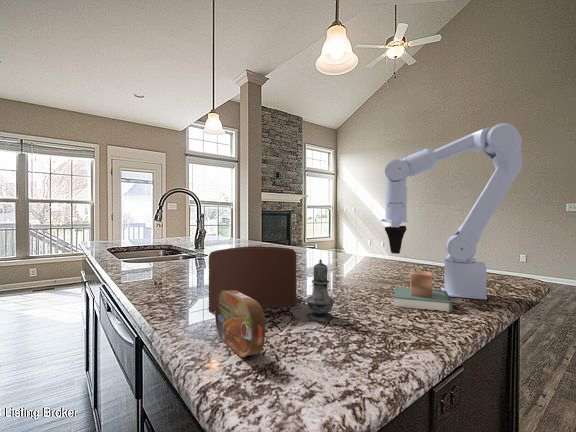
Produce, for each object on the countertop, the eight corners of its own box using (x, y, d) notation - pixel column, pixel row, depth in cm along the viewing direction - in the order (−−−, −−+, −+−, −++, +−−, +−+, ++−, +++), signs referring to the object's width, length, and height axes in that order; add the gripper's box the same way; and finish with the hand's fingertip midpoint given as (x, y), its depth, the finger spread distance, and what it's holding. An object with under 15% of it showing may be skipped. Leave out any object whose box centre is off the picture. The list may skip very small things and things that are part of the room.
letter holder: (297, 306, 72) (297, 245, 71) (208, 312, 67) (208, 247, 67) (287, 295, 81) (287, 241, 81) (209, 299, 77) (209, 243, 77)
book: (446, 301, 77) (446, 291, 77) (451, 313, 67) (452, 302, 67) (394, 296, 81) (394, 286, 81) (393, 307, 72) (393, 296, 72)
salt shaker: (333, 323, 61) (334, 261, 61) (304, 320, 62) (304, 260, 62) (335, 313, 67) (335, 257, 66) (308, 311, 68) (308, 256, 68)
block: (430, 292, 75) (430, 271, 75) (432, 297, 71) (432, 275, 71) (410, 290, 77) (410, 270, 77) (410, 295, 73) (411, 274, 73)
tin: (213, 332, 56) (213, 286, 56) (230, 328, 58) (230, 283, 58) (249, 368, 43) (249, 308, 43) (269, 362, 45) (269, 304, 45)
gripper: (382, 204, 96) (382, 248, 96) (379, 203, 83) (379, 254, 83) (407, 204, 94) (406, 249, 94) (408, 203, 80) (407, 255, 80)
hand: (395, 251), depth 88 cm, fingers open, 7 cm apart
